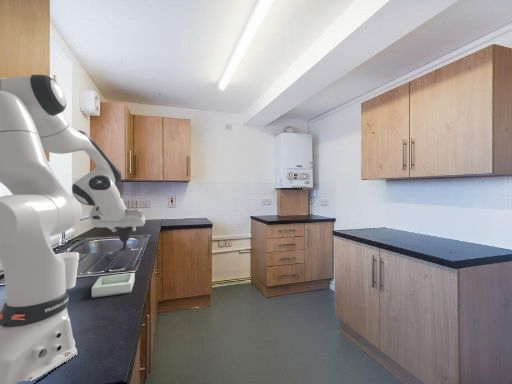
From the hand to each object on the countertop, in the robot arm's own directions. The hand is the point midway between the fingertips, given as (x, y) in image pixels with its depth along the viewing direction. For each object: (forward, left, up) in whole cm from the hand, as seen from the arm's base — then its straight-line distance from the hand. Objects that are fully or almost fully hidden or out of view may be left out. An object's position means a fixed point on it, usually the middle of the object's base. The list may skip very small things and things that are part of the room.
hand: (124, 230), depth 115 cm
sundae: (0, -1, -9) cm, 9 cm away
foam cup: (-11, +18, -21) cm, 31 cm away
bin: (-11, -3, -21) cm, 24 cm away
